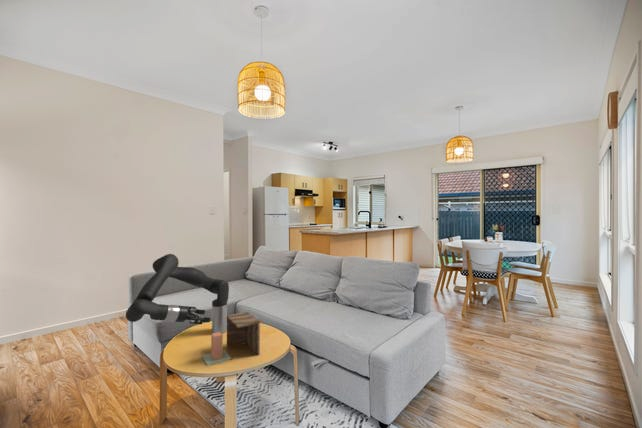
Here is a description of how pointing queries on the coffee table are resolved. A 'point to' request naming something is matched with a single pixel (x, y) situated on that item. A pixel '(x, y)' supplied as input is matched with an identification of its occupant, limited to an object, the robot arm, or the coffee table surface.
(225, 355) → the sage mat
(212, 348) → the terracotta block
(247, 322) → the walnut box
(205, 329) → the coffee table surface
